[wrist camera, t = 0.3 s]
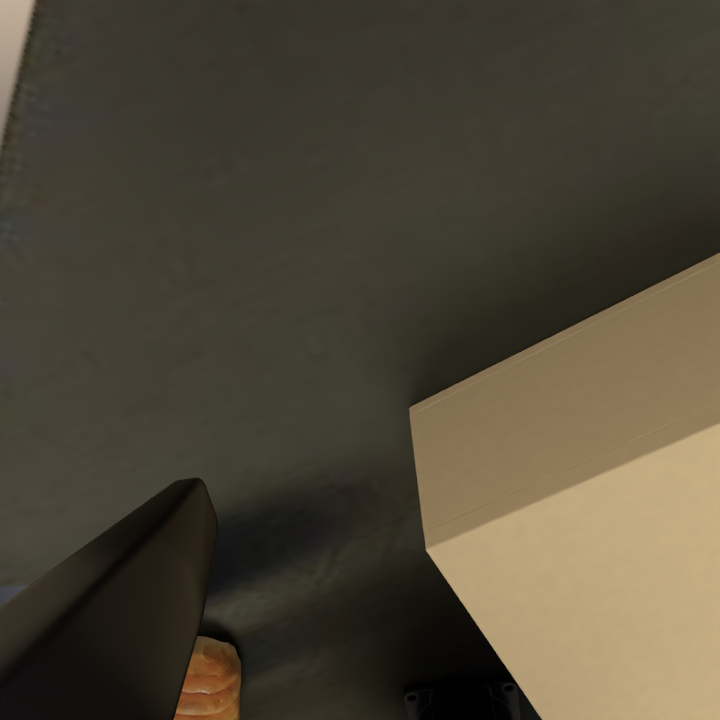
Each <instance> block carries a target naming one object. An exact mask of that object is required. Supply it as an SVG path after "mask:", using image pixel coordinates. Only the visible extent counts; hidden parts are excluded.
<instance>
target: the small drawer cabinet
mask: <svg viewBox="0 0 720 720" xmlns="http://www.w3.org/2000/svg"><path fill="white" fill-rule="evenodd" d="M409 412H410V424H411V432H412V440H413V449H414V457H415V465H416V474H417V482H418V490H419V498H420V507H421V515H422V523H423V532H424V538H425V546H426V551H427V552H428V554H429V555H430V557H431V558H432V560H433V561H434V563H435V564H436V566H437V567H438V568H439V570H440V571H441V573H442V574H443V576H444V577H445V579H446V580H447V582H448V583H449V584H450V586H451V587H452V589H453V590H454V592H455V593H456V595H457V596H458V598H459V599H460V601H461V602H462V603H463V605H464V606H465V608H466V609H467V611H468V612H469V614H470V615H471V617H472V618H473V619H474V621H475V622H476V624H477V625H478V627H479V628H480V630H481V631H482V633H483V634H484V636H485V637H486V638H487V640H488V641H489V643H490V644H491V646H492V647H493V649H494V650H495V652H496V653H497V654H498V656H499V657H500V659H501V660H502V662H503V663H504V665H505V666H506V668H507V669H508V671H509V672H510V673H511V675H512V676H513V678H514V679H515V681H516V682H517V684H518V685H519V687H520V688H521V690H522V691H523V692H524V694H525V695H526V697H527V698H528V700H529V701H530V703H531V704H532V706H533V707H534V708H535V710H536V711H537V713H538V714H539V716H540V717H541V719H542V720H720V253H718V254H716V255H714V256H712V257H710V258H708V259H706V260H704V261H702V262H700V263H698V264H696V265H694V266H692V267H690V268H688V269H686V270H684V271H682V272H680V273H678V274H676V275H674V276H672V277H670V278H668V279H666V280H664V281H662V282H660V283H658V284H656V285H654V286H652V287H650V288H648V289H646V290H644V291H642V292H640V293H638V294H636V295H634V296H632V297H630V298H628V299H626V300H624V301H622V302H620V303H618V304H616V305H614V306H612V307H610V308H608V309H606V310H604V311H602V312H600V313H598V314H596V315H594V316H592V317H590V318H588V319H586V320H584V321H582V322H580V323H578V324H576V325H574V326H572V327H569V328H567V329H565V330H563V331H561V332H559V333H557V334H555V335H553V336H551V337H549V338H547V339H545V340H543V341H541V342H539V343H537V344H535V345H533V346H531V347H529V348H527V349H525V350H523V351H521V352H519V353H517V354H515V355H513V356H511V357H509V358H507V359H505V360H503V361H501V362H499V363H497V364H495V365H493V366H491V367H489V368H487V369H485V370H483V371H481V372H479V373H477V374H475V375H473V376H471V377H469V378H467V379H465V380H463V381H461V382H459V383H457V384H455V385H453V386H451V387H449V388H447V389H445V390H443V391H441V392H439V393H437V394H435V395H433V396H431V397H429V398H427V399H425V400H423V401H421V402H419V403H417V404H415V405H413V406H411V407H410V408H409Z"/></svg>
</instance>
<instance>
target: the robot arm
mask: <svg viewBox="0 0 720 720" xmlns="http://www.w3.org/2000/svg"><path fill="white" fill-rule="evenodd" d="M217 532H218V521H217V516H216V513H215V510H214V508H213V505H212V502H211V499H210V496H209V494H208V491H207V488H206V485H205V483H204V482H203V480H201V479H200V478H190V479H183V480H178V481H175V482H174V483H172V484H171V485H169V486H168V487H167V488H165V489H164V490H162V491H161V492H160V493H158V494H157V495H155V496H154V497H153V498H151V499H150V500H148V501H147V502H146V503H144V504H143V505H141V506H140V507H139V508H137V509H136V510H134V511H133V512H132V513H130V514H129V515H127V516H126V517H125V518H123V519H122V520H120V521H119V522H118V523H116V524H115V525H113V526H112V527H111V528H109V529H108V530H106V531H105V532H104V533H102V534H101V535H99V536H98V537H97V538H95V539H94V540H92V541H91V542H90V543H88V544H87V545H85V546H84V547H83V548H81V549H80V550H78V551H77V552H76V553H74V554H73V555H71V556H70V557H69V558H67V559H66V560H64V561H63V562H62V563H60V564H59V565H57V566H56V567H55V568H53V569H52V570H50V571H49V572H48V573H46V574H45V575H43V576H42V577H41V578H39V579H38V580H36V581H35V582H34V583H32V584H31V585H29V586H28V587H27V588H25V589H24V590H22V591H21V592H20V593H18V594H17V595H15V596H14V597H13V598H11V599H10V600H8V601H7V602H6V603H4V604H3V605H1V606H0V720H174V717H175V713H176V710H177V706H178V703H179V699H180V696H181V692H182V689H183V685H184V682H185V678H186V675H187V671H188V668H189V664H190V661H191V657H192V654H193V650H194V647H195V643H196V639H197V636H198V632H199V629H200V625H201V621H202V617H203V613H204V608H205V603H206V598H207V592H208V586H209V580H210V574H211V568H212V562H213V556H214V550H215V544H216V538H217ZM404 702H405V706H406V710H407V715H408V719H409V720H521V718H520V709H519V699H518V690H517V685H516V681H515V679H514V678H513V677H511V676H501V677H491V678H481V679H471V680H462V681H452V682H442V683H432V684H423V685H413V686H408V687H406V688H405V689H404Z"/></svg>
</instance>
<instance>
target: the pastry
mask: <svg viewBox="0 0 720 720" xmlns="http://www.w3.org/2000/svg"><path fill="white" fill-rule="evenodd" d="M240 685H241V662H240V659H239V657H238V655H237V652H236V649H235V647H234V646H232V645H230V644H229V643H225V642H220V641H217V640H215V639H212V638H208V637H202V636H197V639H196V643H195V647H194V650H193V654H192V657H191V661H190V664H189V668H188V671H187V675H186V678H185V682H184V685H183V689H182V692H181V696H180V699H179V703H178V706H177V710H176V713H175V717H174V720H239V711H240V688H241V686H240Z"/></svg>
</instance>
